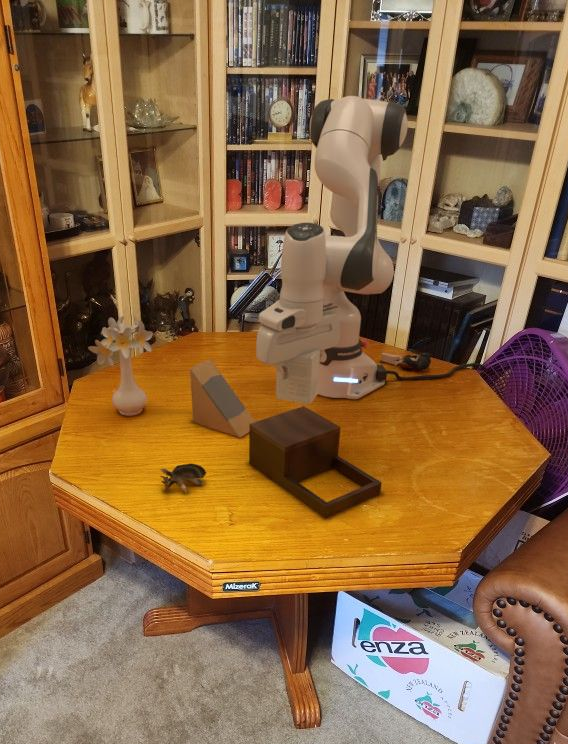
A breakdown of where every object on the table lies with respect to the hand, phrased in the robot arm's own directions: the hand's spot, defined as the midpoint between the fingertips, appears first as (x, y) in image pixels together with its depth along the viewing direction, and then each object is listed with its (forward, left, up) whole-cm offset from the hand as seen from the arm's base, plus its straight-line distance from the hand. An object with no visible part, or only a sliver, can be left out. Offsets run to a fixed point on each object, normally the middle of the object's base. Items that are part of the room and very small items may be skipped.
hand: (297, 374), depth 142 cm
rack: (0, +7, -23) cm, 24 cm away
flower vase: (+18, -46, -23) cm, 55 cm away
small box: (0, 0, -6) cm, 6 cm away
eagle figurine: (+26, -6, -23) cm, 35 cm away
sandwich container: (+1, -26, -23) cm, 35 cm away
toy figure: (-65, -26, -23) cm, 74 cm away
